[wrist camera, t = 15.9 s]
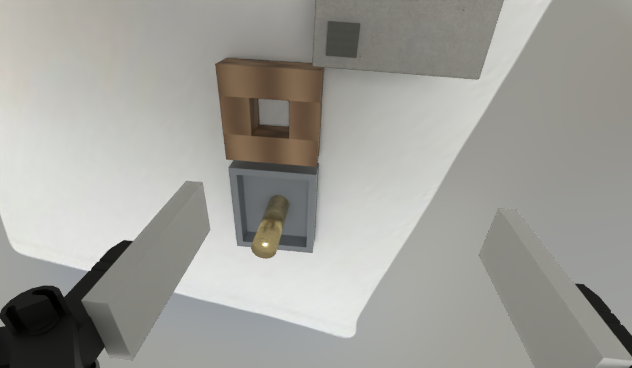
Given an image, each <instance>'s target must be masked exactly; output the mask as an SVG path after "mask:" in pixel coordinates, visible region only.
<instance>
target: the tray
mask: <svg viewBox="0 0 632 368" xmlns="http://www.w3.org/2000/svg"><path fill="white" fill-rule="evenodd" d="M318 166H319V163H317V167H314V166H301V165H289V164H277V163H264V162H252V161H239V160H234V161H233V162H232V164H231V165H230V166H229V176H230V185H231V194H232V203H233V212H234V221H235V230H236V239H237V246H245V247H251V245H252V243H253V240H254V238H255V235H256V233H257V230H258V227H259V225H260V222H261V220H262V217H263V215H264V212H265V210H266V207H267V205H268V202H269V200H270V198H271V197H273V196H275V195H281V196H284V197H285V198H286V199H287V200H288V201H289V209H288V213H287V216H286V220H285V223H284V227H283V230H282V233H281V237H280V240H279V244H278V247H277V250H287V251H297V252H308V253H313V246H314V239H315V222H316V203H317V185H318Z"/></svg>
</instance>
